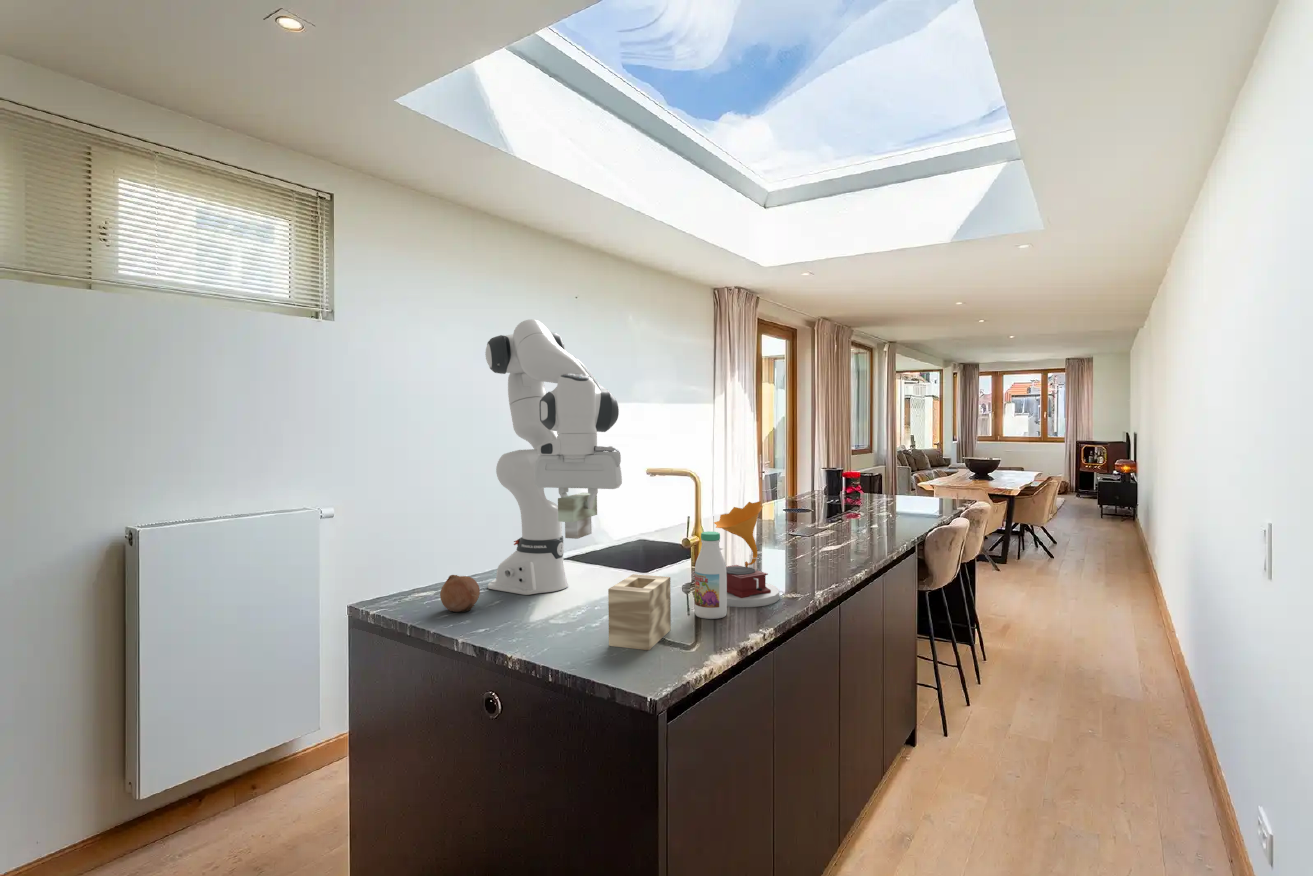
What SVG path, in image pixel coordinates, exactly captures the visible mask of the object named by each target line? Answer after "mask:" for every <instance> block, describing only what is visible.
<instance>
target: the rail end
mask: <svg viewBox="0 0 1313 876" xmlns="http://www.w3.org/2000/svg"><path fill="white" fill-rule="evenodd" d="M589 496H590V494H588V492H579V493H576V494H571V495H568V496H566V497H562V498H561V497H558V498H557V506H558V522H562V523H564V538H565V539H575V540H576V539H580V538H583V537H586V536H589V535H592V533H593V532H592V517H594V516H597V515H598V494H597V495H596V497H595V499H594V500H593V508H592V509H584V501H586V500H588V498H589Z"/></svg>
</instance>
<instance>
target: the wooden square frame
mask: <svg viewBox="0 0 1313 876" xmlns="http://www.w3.org/2000/svg"><path fill="white" fill-rule="evenodd" d="M607 590H608V592H607V593H608V595H607V596H608V598H607V599H608V600H607V601H608V602H607V603H608V604H607V605H608V646H609V647H610V646H611V647H619V648H624V649H625V648H626V649H634V650H642V651H643V650H645V651H650V650H651V649H652V648H653V647H654V646H656V644H658V642H660V641H661V639H663V638H664V637H665V636H666V635H667V634H668V633H669V632H670V631H671V629H672V626H671V625H672V624H671V623H672V622H671V613H672V612H671V605H672V604H671V603H672V602H671V576H661V575H659V576H658V575H650V574H648V575H646V574H637V573H636V574H634V573H633V574H631V575H629V576H628V577H626V578H624V579H623V580H621V581H619V582H617V583H616V584H613V585H612V586H610V587H609V588H608V589H607Z"/></svg>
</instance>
